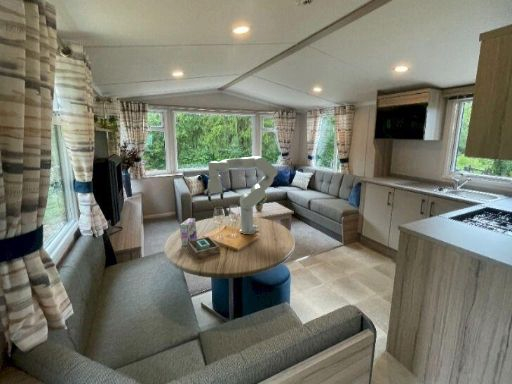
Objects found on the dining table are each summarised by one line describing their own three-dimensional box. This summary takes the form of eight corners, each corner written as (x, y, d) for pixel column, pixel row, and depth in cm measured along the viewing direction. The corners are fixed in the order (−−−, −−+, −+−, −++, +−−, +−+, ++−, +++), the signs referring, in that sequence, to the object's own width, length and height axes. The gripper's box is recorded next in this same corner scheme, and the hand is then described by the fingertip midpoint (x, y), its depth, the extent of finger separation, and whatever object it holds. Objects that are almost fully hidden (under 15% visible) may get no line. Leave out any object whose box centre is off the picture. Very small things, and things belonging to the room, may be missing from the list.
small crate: (205, 245, 179) (204, 239, 178) (210, 251, 171) (209, 244, 170) (197, 247, 176) (196, 241, 175) (201, 253, 168) (201, 246, 167)
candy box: (189, 246, 180) (187, 224, 177) (181, 246, 182) (179, 224, 178) (197, 238, 194) (195, 218, 190) (190, 238, 195) (188, 217, 191)
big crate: (209, 242, 186) (208, 236, 185) (220, 253, 169) (219, 246, 168) (187, 248, 178) (187, 241, 177) (196, 259, 161) (196, 252, 160)
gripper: (223, 176, 196) (224, 197, 200) (201, 178, 188) (203, 200, 192) (227, 177, 190) (228, 199, 194) (205, 180, 182) (206, 203, 186)
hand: (215, 200), depth 193 cm, fingers open, 9 cm apart
